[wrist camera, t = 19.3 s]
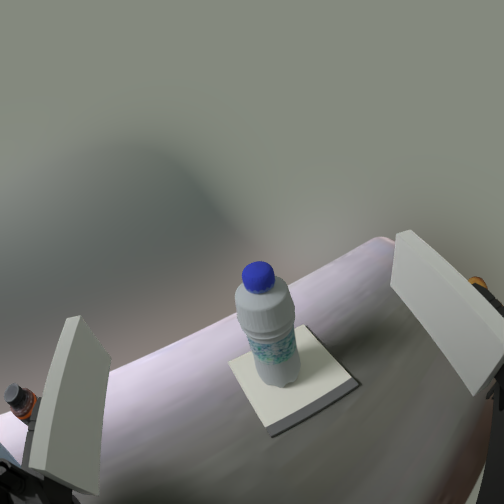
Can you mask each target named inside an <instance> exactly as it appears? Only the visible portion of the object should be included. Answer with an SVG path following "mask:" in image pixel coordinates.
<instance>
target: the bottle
mask: <svg viewBox="0 0 504 504" xmlns="http://www.w3.org/2000/svg"><path fill="white" fill-rule="evenodd" d="M242 279H243V283H242V284H241V285H240V286H239V287H238V289H237V290H236V293H235V301H236V309H237V318H238V321H239V323H240V326H241V328H242V330H243V332H244V333H245V334H246V335H247V338H248V341H249V344H250V347H251V350H252V353H253V356H254V361H255V366H256V370H257V372H258V375H259V376H260V378H261V379H262V381H263V382H264V383H265V384H267V385H275V386H277V387H279V388H281V387H284V386H285V385H286V384H287V383H289V382H294V381H295V380H296V379H297V376H298V373H299V371H300V367H301V362H300V357H299V353H298V349H297V345H296V337H295V330H294V324H293V323H294V320H295V312H294V311H295V306H294V303H293V301H292V298H291V295H290V292H289V289H288V286H287V284H286V282H285V281H284V280H283V279H281V278H280V277H277V276H275V275H274V271H273V268H272V267H271V266H270V265H269V264H268V263H266V262H262V261H258V262H254V263H251V264H249V265H247V266H246V267H245V268H244V270H243V273H242Z"/></svg>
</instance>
